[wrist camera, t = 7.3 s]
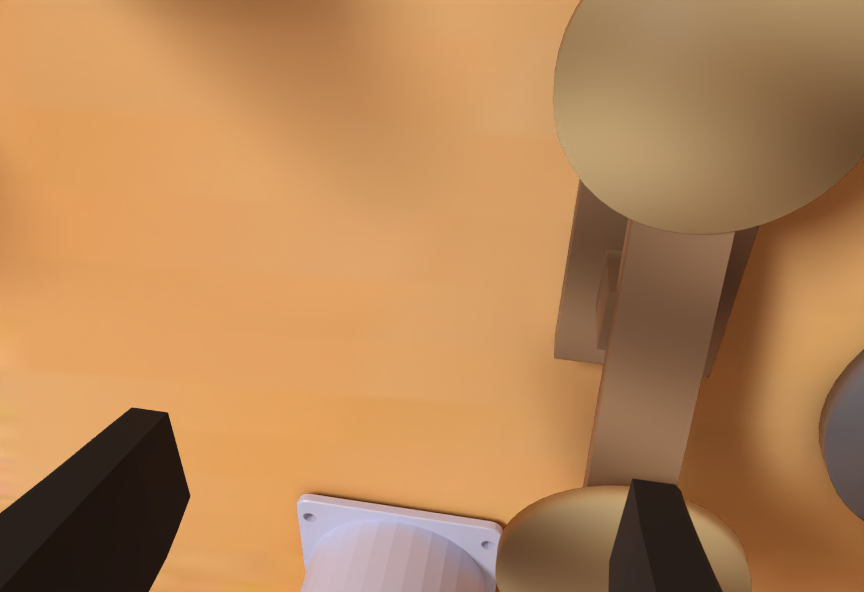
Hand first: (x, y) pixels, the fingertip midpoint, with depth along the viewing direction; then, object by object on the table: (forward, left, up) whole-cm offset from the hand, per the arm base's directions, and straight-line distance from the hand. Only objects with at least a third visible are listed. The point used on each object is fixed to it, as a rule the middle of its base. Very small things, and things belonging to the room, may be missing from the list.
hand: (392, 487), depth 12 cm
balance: (-2, -5, -10) cm, 12 cm away
